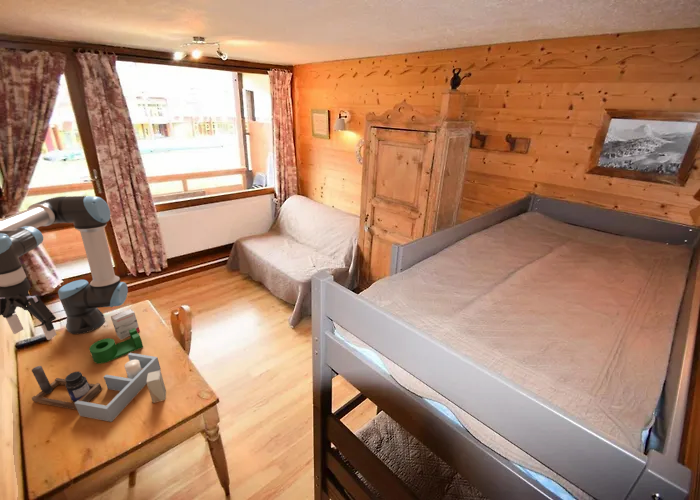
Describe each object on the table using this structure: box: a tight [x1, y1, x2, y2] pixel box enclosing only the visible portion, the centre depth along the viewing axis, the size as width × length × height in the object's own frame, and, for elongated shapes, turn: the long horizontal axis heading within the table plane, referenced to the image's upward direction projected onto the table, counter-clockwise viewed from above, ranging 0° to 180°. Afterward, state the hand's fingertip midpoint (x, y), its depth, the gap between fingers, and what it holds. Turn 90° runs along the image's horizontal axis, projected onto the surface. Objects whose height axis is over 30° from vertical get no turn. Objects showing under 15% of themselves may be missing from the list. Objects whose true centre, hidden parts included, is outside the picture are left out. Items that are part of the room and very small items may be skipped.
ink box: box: [110, 308, 141, 341], centre depth 155 cm, size 9×5×12 cm, turn 141°
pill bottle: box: [64, 371, 90, 403], centre depth 121 cm, size 6×6×11 cm
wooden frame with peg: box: [31, 365, 103, 411], centre depth 122 cm, size 10×20×12 cm, turn 81°
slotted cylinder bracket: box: [88, 328, 144, 365], centre depth 145 cm, size 18×9×6 cm, turn 135°
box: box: [146, 369, 167, 404], centre depth 123 cm, size 5×4×11 cm
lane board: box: [74, 352, 161, 423], centre depth 126 cm, size 26×13×6 cm, turn 171°
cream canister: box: [124, 360, 143, 379], centre depth 131 cm, size 5×5×8 cm
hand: (35, 334), depth 112 cm, fingers open, 13 cm apart
